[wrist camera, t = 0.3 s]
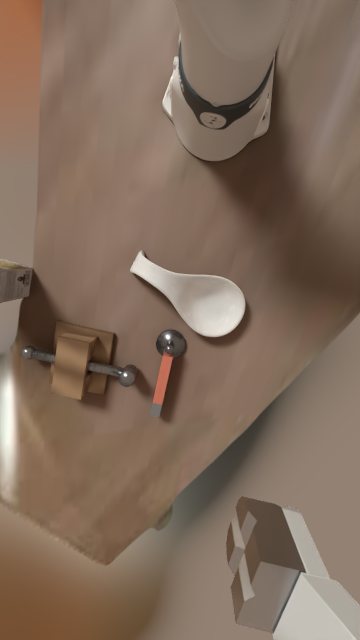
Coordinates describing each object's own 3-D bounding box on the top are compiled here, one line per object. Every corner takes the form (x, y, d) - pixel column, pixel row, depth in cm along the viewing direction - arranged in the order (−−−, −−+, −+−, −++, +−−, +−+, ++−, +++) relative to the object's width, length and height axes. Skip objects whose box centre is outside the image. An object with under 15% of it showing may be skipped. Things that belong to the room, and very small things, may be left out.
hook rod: (27, 341, 55) (14, 347, 51) (138, 366, 55) (135, 374, 51) (25, 355, 55) (13, 362, 51) (136, 379, 56) (132, 388, 52)
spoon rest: (252, 293, 53) (262, 298, 46) (222, 342, 55) (227, 353, 48) (148, 234, 51) (142, 230, 44) (122, 287, 53) (112, 291, 46)
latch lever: (164, 350, 54) (162, 355, 52) (173, 352, 54) (172, 357, 52) (151, 407, 57) (149, 415, 55) (160, 409, 57) (159, 417, 55)
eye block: (59, 320, 55) (42, 328, 49) (114, 333, 55) (105, 341, 49) (51, 380, 58) (35, 394, 52) (104, 392, 58) (94, 407, 52)
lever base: (159, 326, 55) (157, 332, 50) (187, 333, 55) (187, 339, 50) (154, 353, 56) (151, 361, 51) (181, 359, 56) (180, 367, 51)
